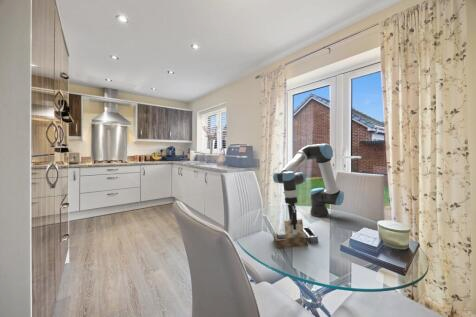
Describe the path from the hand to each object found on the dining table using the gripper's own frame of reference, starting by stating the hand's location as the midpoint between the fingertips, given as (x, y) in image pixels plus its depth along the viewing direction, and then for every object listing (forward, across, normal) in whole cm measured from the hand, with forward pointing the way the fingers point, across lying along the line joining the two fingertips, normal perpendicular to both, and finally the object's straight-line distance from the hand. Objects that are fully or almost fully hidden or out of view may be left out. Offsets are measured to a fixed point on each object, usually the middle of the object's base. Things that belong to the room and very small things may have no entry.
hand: (294, 233), depth 124 cm
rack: (+7, -3, -3) cm, 8 cm away
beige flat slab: (+7, 0, 0) cm, 7 cm away
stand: (+7, -7, +11) cm, 15 cm away
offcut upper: (+4, -5, -8) cm, 10 cm away
